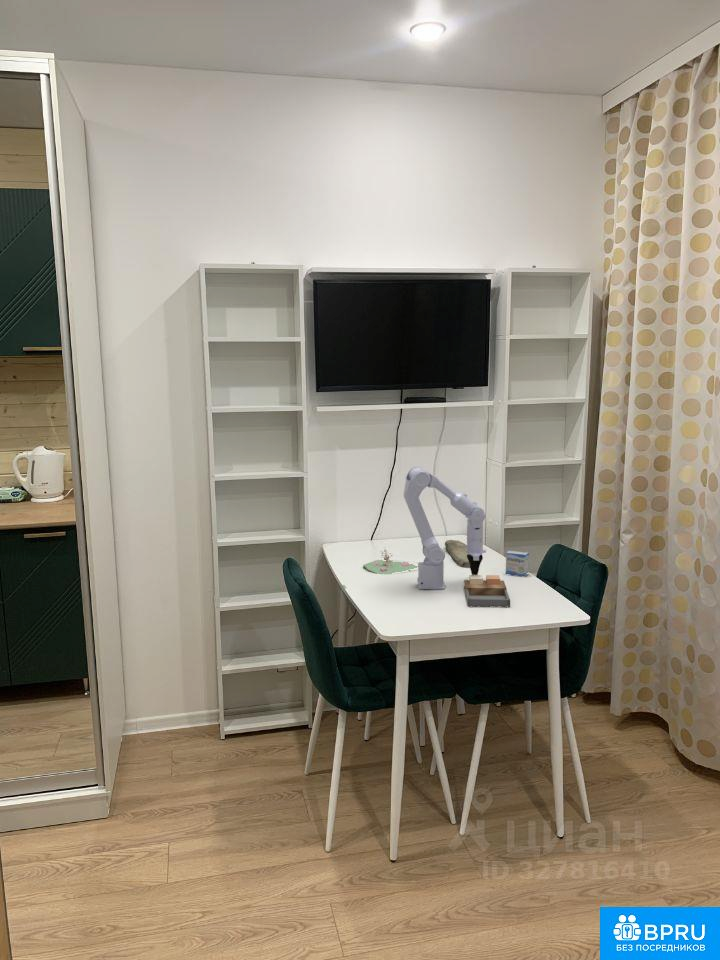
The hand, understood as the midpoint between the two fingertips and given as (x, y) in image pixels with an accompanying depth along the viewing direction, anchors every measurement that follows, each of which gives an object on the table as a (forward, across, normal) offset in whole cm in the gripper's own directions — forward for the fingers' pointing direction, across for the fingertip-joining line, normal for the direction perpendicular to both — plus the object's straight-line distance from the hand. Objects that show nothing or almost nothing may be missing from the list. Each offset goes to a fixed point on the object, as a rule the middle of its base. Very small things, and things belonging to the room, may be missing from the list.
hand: (474, 574), depth 273 cm
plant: (+4, +22, +30) cm, 37 cm away
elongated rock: (+4, +38, +3) cm, 38 cm away
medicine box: (+4, +13, -17) cm, 21 cm away
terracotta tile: (0, -8, -6) cm, 10 cm away
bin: (+3, -20, -3) cm, 20 cm away
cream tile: (0, -8, 0) cm, 8 cm away
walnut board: (+3, -10, -3) cm, 11 cm away
